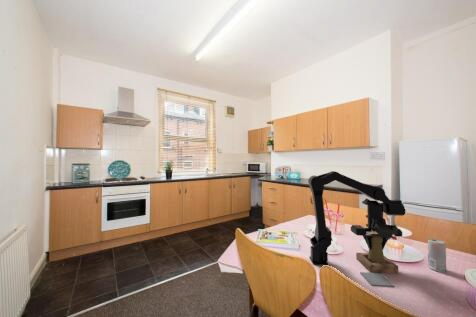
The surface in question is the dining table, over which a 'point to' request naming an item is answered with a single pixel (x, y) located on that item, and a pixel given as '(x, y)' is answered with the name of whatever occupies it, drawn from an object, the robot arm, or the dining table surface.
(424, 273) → the dining table surface
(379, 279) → the rubber mat
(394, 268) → the walnut frame
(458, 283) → the dining table surface
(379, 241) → the cork
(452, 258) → the dining table surface
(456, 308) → the dining table surface
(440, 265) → the energy drink
